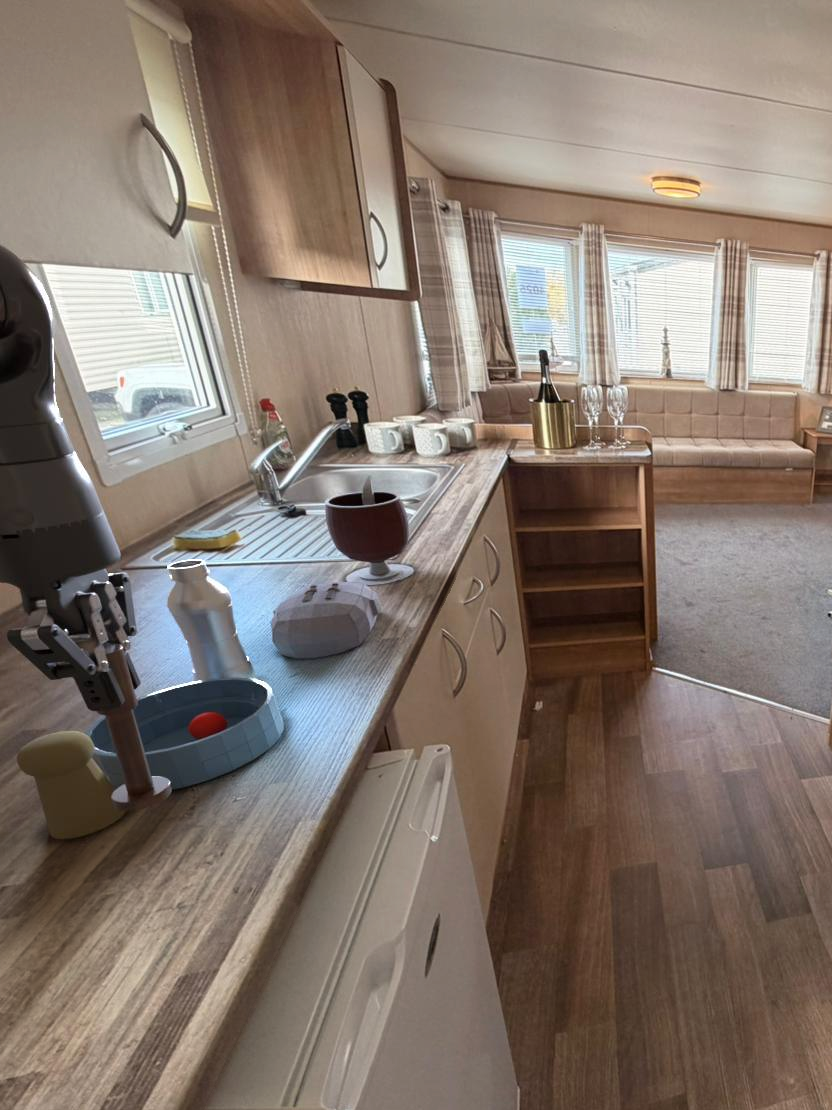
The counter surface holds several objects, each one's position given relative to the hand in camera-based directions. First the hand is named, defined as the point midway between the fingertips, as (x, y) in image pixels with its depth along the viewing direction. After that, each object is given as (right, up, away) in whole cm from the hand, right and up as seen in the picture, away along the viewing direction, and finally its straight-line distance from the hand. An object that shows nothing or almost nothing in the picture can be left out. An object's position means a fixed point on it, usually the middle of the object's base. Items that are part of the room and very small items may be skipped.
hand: (116, 698), depth 57 cm
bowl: (-14, -11, +23) cm, 29 cm away
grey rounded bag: (-19, +2, +53) cm, 56 cm away
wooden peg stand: (-2, -10, +4) cm, 11 cm away
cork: (-15, -16, +12) cm, 25 cm away
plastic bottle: (-22, -5, +36) cm, 42 cm away
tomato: (-14, -7, +24) cm, 29 cm away
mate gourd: (-28, +14, +79) cm, 85 cm away
